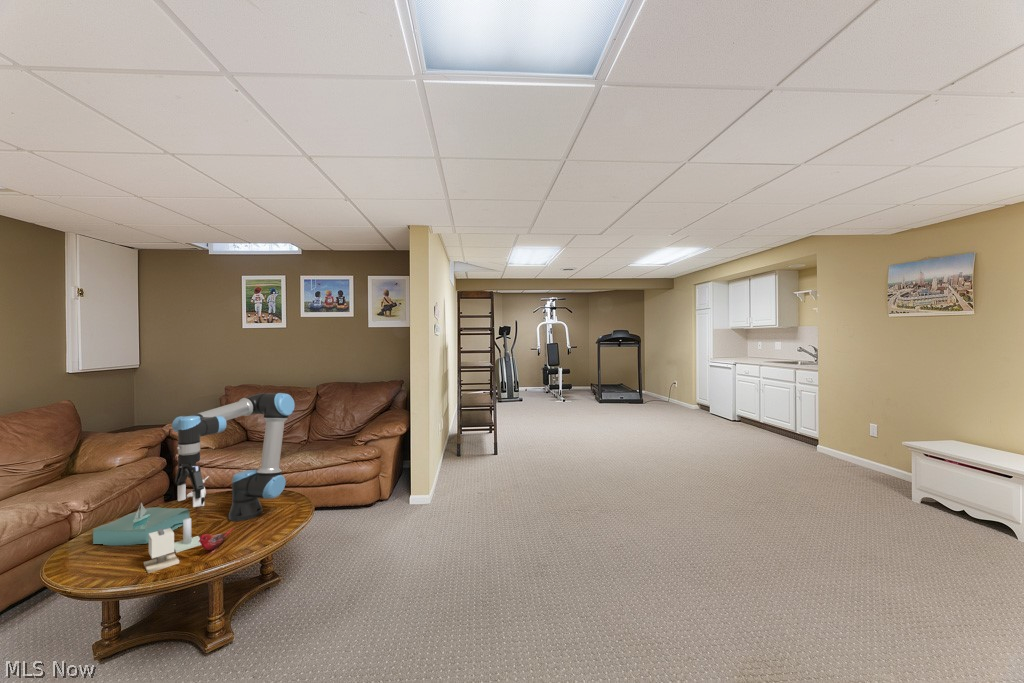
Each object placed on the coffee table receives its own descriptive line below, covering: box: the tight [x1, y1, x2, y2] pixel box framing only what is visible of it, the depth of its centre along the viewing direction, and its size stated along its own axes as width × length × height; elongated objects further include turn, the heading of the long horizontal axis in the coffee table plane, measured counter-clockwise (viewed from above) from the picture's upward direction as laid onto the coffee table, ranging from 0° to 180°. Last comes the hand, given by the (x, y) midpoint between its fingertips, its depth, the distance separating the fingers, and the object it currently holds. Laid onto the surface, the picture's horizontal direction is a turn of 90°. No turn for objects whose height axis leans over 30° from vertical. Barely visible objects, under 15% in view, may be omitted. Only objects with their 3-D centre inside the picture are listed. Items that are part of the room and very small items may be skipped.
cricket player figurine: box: [186, 475, 210, 508], centre depth 239 cm, size 13×10×15 cm
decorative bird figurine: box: [199, 527, 235, 555], centre depth 188 cm, size 3×18×10 cm, turn 167°
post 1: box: [143, 552, 180, 574], centre depth 177 cm, size 10×10×12 cm
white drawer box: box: [148, 528, 175, 559], centre depth 177 cm, size 7×7×9 cm
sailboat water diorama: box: [92, 501, 190, 546], centre depth 206 cm, size 25×25×16 cm
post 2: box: [174, 517, 202, 554], centre depth 193 cm, size 10×10×12 cm
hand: (189, 503), depth 180 cm, fingers open, 13 cm apart
